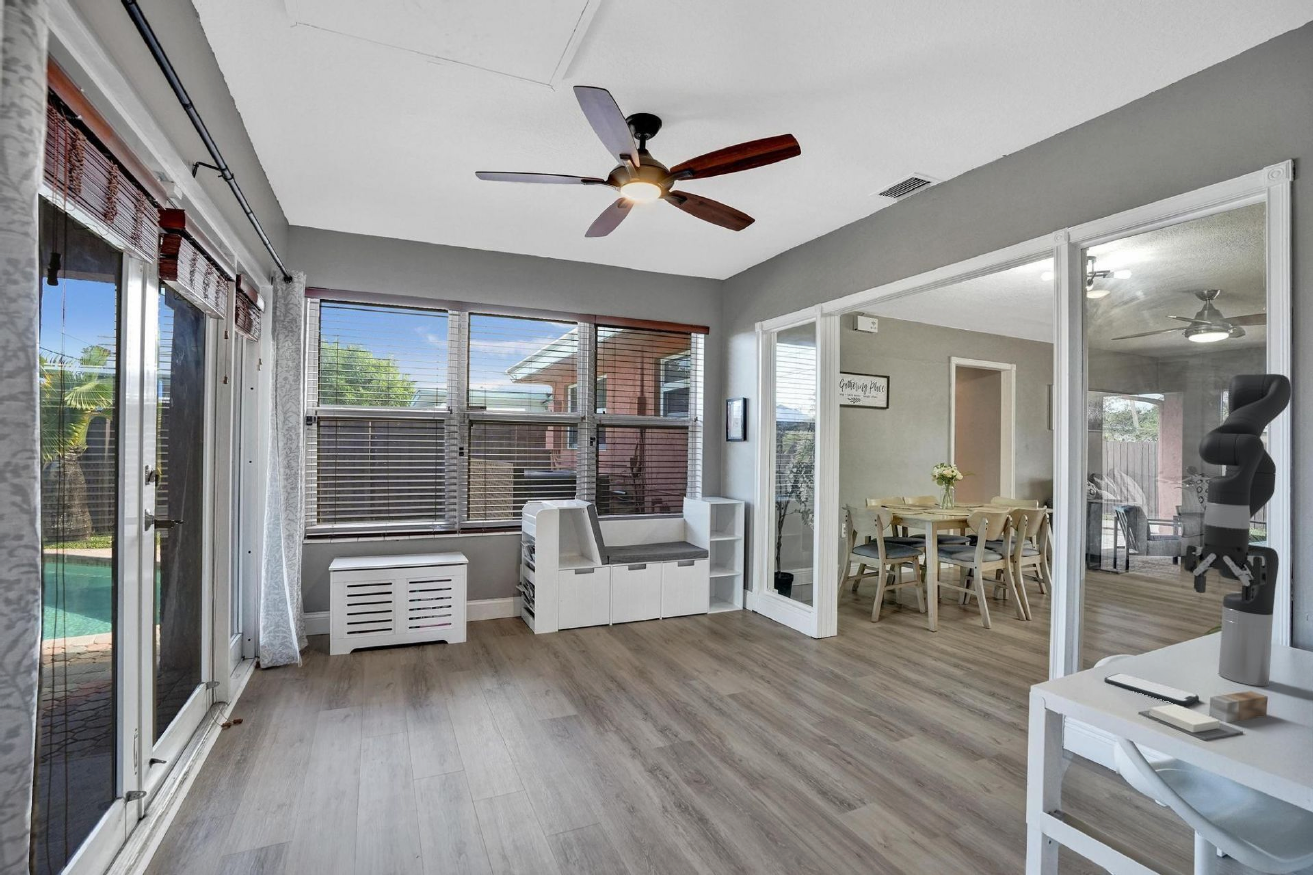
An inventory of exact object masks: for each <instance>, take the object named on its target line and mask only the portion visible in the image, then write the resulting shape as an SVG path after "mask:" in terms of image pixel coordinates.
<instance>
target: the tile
mask: <svg viewBox="0 0 1313 875" xmlns="http://www.w3.org/2000/svg"><path fill="white" fill-rule="evenodd" d="M1149 710H1150V711H1149V715H1150V716H1153V717H1155V718H1158V719H1160V720H1163V721H1165V722H1168V723H1170V724H1173V725H1175V726H1178V727H1180V728H1183V729H1185V730H1188V731H1190V732H1193V733H1194V732H1200V731H1205V730H1211V729H1217V728H1219V723H1220V720H1218V719H1216V718H1213V717H1210V716H1209V715H1205V714H1203V713H1201V712H1198V711H1195V710H1191V709H1189V708H1188V707H1182V706H1179V705H1176V704H1166V705H1160V706H1159V705H1158V706H1153V707H1149Z"/></svg>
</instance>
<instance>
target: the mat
mask: <svg viewBox="0 0 1313 875" xmlns="http://www.w3.org/2000/svg"><path fill="white" fill-rule="evenodd" d="M1149 711H1150V709H1149V710H1144V711H1143V710H1142V711H1138V715H1140V714H1141V716H1142V715H1143V717H1145V716H1146V718H1147V717H1148V719H1150V720H1152V719H1153V721H1155V722H1157V721H1158V722H1157V723H1160V724H1163V725H1164V726H1167V727H1170V728H1172V729H1175V730H1177V731H1180V732H1182V733H1185V734H1187V735H1189V736H1192V737H1194V738H1196V739H1197V738H1198V739H1199V740H1201V741H1204V742H1205V741H1208V740H1215V739H1220V738H1226V737H1230V736H1238V735H1242V734H1244V731H1242V730H1241V729H1237V728H1235V727H1231V726H1229V725H1227V724H1224V723H1222V722H1219V728H1217V729H1211V730H1205V731H1200V732H1194V733H1193V732H1190V731H1188V730H1185V729H1183V728H1180V727H1178V726H1175V725H1173V724H1170V723H1168V722H1165V721H1163V720H1160V719H1158V718H1155V717H1153V716H1150V715H1149ZM1237 734H1238V735H1237Z"/></svg>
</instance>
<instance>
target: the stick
mask: <svg viewBox="0 0 1313 875" xmlns="http://www.w3.org/2000/svg"><path fill="white" fill-rule="evenodd" d="M1268 698H1269V697H1268V696H1266V695H1264V694H1261V693H1258V692H1254V691H1252V690H1250V691H1249V690H1248V691H1242V692H1237V693H1230V694H1223V695H1221V694H1220V695H1215V696H1210V697H1209V709H1208V710H1209V713H1208V714H1209V715H1208V717H1210V716H1212V717H1211V718H1214V719H1216V720H1219V721H1220V722H1223V723H1231V722H1234V721H1235V722H1236V721H1242V720H1247V719H1253V718H1258V717H1259V716H1260V717H1264V716H1267V714H1268V701H1269V700H1268ZM1260 717H1259V718H1260Z"/></svg>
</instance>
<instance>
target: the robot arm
mask: <svg viewBox="0 0 1313 875" xmlns="http://www.w3.org/2000/svg"><path fill="white" fill-rule="evenodd" d="M1291 394H1292V390H1291V382H1290V379H1289V378H1288V377H1287V376H1286V375H1284V374H1281V373H1280V374H1279V373H1267V374H1266V373H1265V374H1264V373H1262V374H1260V373H1259V374H1236V375H1233V377H1232V378H1231V379H1230V381H1229V385H1228V395H1227V396H1228V400H1227V403H1228V404H1227V405H1228V407H1227V408H1228V411H1227V412H1228V413H1227V414H1228V415H1227V417H1226V418H1225V420H1224V421H1223V423H1222V424H1221V425H1219V426H1218V427H1215V428H1214V429H1212V430H1211V431H1209V432H1207V433H1206V434H1205V435H1204V437H1203V438H1202V439H1201V440H1200V443H1199V445H1198V446H1199V447H1198V454H1199V456H1200V458H1201V459H1202V461H1204V462H1205V463H1207V464H1209V465H1215V466H1225V472H1224V473H1225V474H1224V475H1218V476H1217V475H1216V476H1213V477H1210V478H1209V480H1208V483H1207V496H1206V498H1207V500H1206V501H1207V502H1206V506H1205V507H1206V508H1205V511H1204V512H1205V513H1204V524H1203V525H1204V526H1203V527H1204V528H1203V546H1199V545H1198V544H1192V545H1190V544H1189V545H1187V547H1186V550H1185V551H1186V552H1185V558H1184V559H1185V560H1184V571H1186V572H1190V573H1191V574H1193V576H1194V578H1193V579H1194V581H1193V589H1194V590H1195V591H1196V593H1197V594H1203V593H1204V594H1205V593H1206V588H1207V576H1206V574H1207V573H1208V572H1209V571H1211V570H1212V569H1213V570H1218V571H1217V572H1218V573H1219V575H1220V576H1221V577H1222V578H1225V579H1226V580H1227V579H1228V580H1232V581H1233V580H1234V581H1238V582H1239V581H1240V582H1241V583H1242V585H1241V592H1237V593H1228V594H1225V595H1223V598H1222V599H1223V601H1222V614H1221V615H1222V618H1221V629H1220V630H1221V632H1220V643H1219V644H1220V647H1219V659H1218V660H1219V661H1218V662H1219V663H1218V664H1219V665H1218V675H1219V676H1220V677H1223V678H1225V679H1228V680H1229V681H1233V682H1235V683H1240V684H1245V685H1250V686H1256V687H1267V686H1269V683H1270V676H1271V675H1270V674H1271V673H1270V672H1271V660H1272V658H1271V657H1272V637H1273V622H1274V607H1275V598H1276V597H1275V595H1276V586H1277V578H1278V573H1279V564H1280V563H1279V561H1280V560H1279V553H1278V552H1277V551H1276V549H1274V548H1272V547H1269V546H1264V545H1263V546H1261V545H1256V544H1254V545H1253V544H1250V531H1251V530H1250V527H1251V519H1252V518H1253V517H1254V516H1255V515H1256V514H1257V513H1258V512H1260V510H1262V508H1263V507H1264V506H1265V505H1266V504H1267V503H1268V502H1269V501H1270V500H1271V498H1273V495H1274V493H1275V488H1276V487H1275V485H1276V470H1277V468H1276V465H1275V462H1274V460H1273V459H1272V457H1271V455H1270V454H1269V453H1268V451H1267V450H1266V449H1265V446H1264V442H1263V440H1262V439H1261V437H1262V435H1263V433H1264V431H1265V429H1266V427H1267V426H1268V425H1269V424H1270V423H1271V422H1272V421H1274V420H1275V419H1276V418H1277V417H1278V416H1279V415H1280V414H1281V413H1282V412H1284V411H1285V410H1286V408H1287V407H1288V405H1289V403H1290V399H1291V397H1292V396H1291ZM1201 554H1202V556H1203V557H1204V560H1203V561H1202V562H1200V564H1199V565H1198V563H1199V562H1198V561H1199V556H1201Z"/></svg>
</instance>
